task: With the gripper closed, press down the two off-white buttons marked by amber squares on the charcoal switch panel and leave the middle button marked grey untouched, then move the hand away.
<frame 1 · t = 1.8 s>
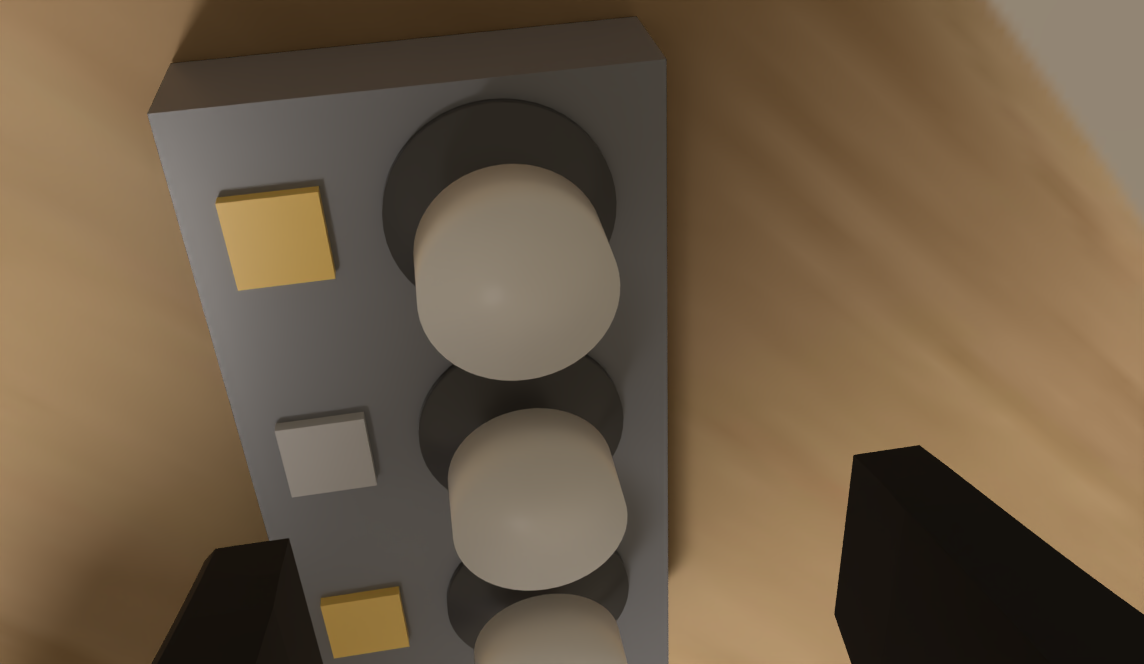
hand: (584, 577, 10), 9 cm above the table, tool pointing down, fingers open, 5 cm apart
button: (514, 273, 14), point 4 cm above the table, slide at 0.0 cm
button middle: (535, 500, 16), point 4 cm above the table, slide at 0.0 cm
switch panel: (456, 386, 20), on the table
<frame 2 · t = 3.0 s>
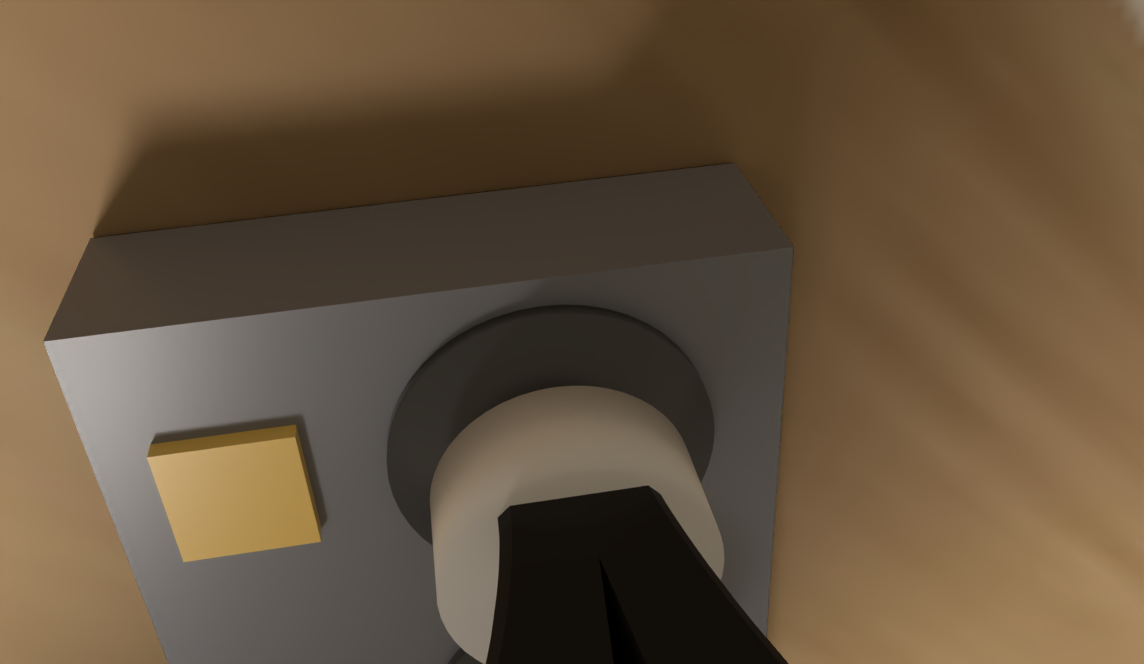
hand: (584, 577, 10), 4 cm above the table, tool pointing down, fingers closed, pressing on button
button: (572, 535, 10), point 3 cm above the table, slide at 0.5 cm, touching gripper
switch panel: (481, 611, 15), on the table
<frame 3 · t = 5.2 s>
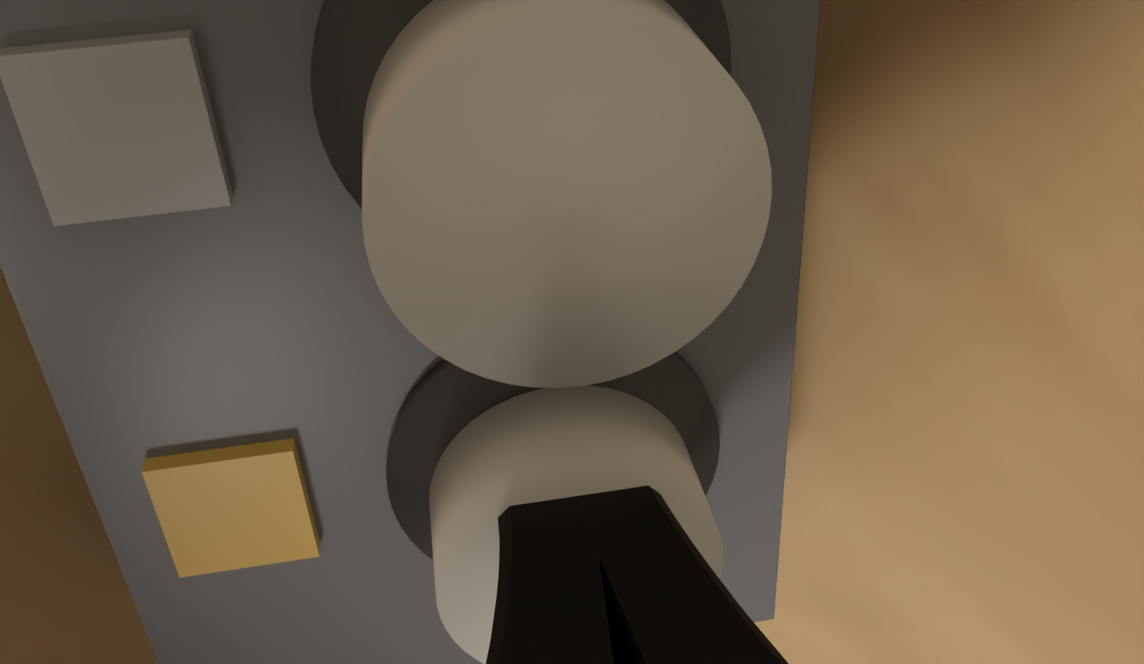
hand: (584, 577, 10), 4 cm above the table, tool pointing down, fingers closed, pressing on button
button middle: (558, 179, 7), point 4 cm above the table, slide at 0.0 cm
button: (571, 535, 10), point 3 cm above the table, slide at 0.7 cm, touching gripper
switch panel: (403, 72, 11), on the table
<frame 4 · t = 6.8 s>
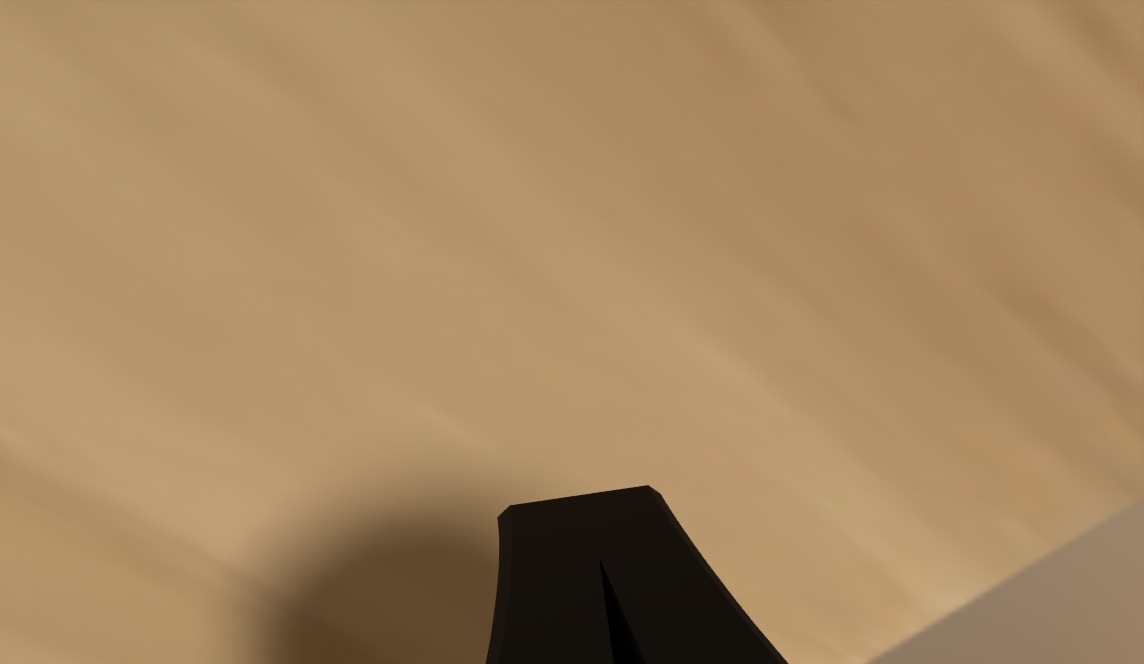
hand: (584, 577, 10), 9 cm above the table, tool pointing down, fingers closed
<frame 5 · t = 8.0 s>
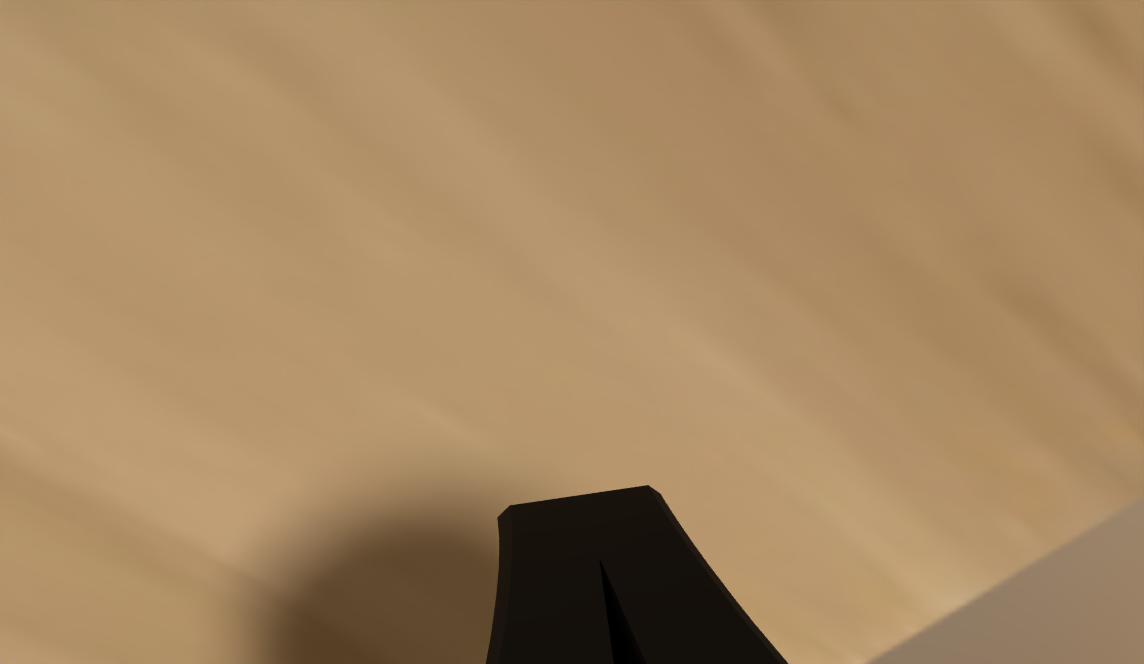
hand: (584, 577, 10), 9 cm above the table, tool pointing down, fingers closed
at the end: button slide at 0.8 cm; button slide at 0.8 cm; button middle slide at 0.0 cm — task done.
